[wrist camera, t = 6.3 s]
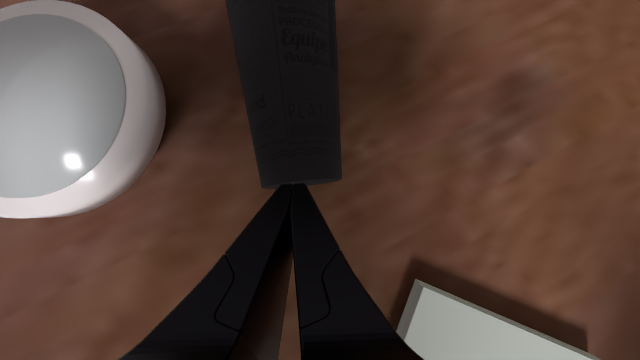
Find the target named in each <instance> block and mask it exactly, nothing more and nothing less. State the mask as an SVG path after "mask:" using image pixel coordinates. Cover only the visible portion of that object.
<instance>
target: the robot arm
mask: <svg viewBox="0 0 640 360" xmlns="http://www.w3.org/2000/svg"><path fill="white" fill-rule="evenodd" d="M293 258H294V271H295V283H296V296H297V308H298V321H299V330H300V332H299V333H300V347H301V360H424V359H423V358H422V357H421V356H419V355H418V354H417V353H416V352H415V351H413V350H412V349H411V348H410V347H409V346H408V345H407V344H406V343H405V341H404V340H403V339H402V338H401V337H400V336H399V335H398V333H397V332H396V331H395V329H394V328H393V327H392V326H391V324H390V323H389V321H388V320H387V319H386V317H385V316H384V315H383V313H382V312H381V310H380V309H379V308H378V306H377V305H376V304H375V302H374V301H373V299H372V298H371V297H370V295H369V294H368V293H367V291H366V290H365V289H364V287H363V286H362V284H361V283H360V281H359V280H358V278H357V277H356V275H355V274H354V272H353V270H352V269H351V267H350V265H349V264H348V262H347V260H346V258H345V257H344V255H343V253H342V251H341V250H340V248H339V246H338V244H337V242H336V240H335V238H334V236H333V235H332V233H331V231H330V229H329V227H328V225H327V223H326V221H325V220H324V218H323V216H322V214H321V212H320V210H319V208H318V207H317V205H316V203H315V201H314V199H313V197H312V195H311V194H310V192H309V190H308V188H307V186H306V184H305V183H295V184H281V185H280V186H279V187H278V188H277V190H276V191H275V192H274V193H273V195H272V196H271V197H270V198H269V199H268V201H267V202H266V203H265V204H264V206H263V207H262V208H261V209H260V211H259V212H258V213H257V214H256V215H255V217H254V218H253V219H252V220H251V222H250V223H249V224H248V225H247V226H246V228H245V229H244V230H243V231H242V233H241V234H240V235H239V236H238V237H237V239H236V240H235V241H234V242H233V244H232V245H231V246H230V247H229V248H228V250H227V251H226V252H225V255H223V256H222V257H221V258H220V259H219V261H218V262H217V263H216V264H215V265H214V266H213V268H212V269H211V270H210V271H209V272H208V273H207V275H206V276H205V277H204V278H203V279H202V280H201V281H200V282H199V283H198V284H197V286H196V287H195V288H194V289H193V290H192V291H191V292H190V293H189V294H188V295H187V296H186V297H185V298H184V299H183V300H182V301H181V302H180V303H179V304H178V305H177V306H176V307H175V308H174V309H173V310H172V311H171V312H170V313H169V314H168V315H167V316H166V317H165V318H164V319H163V320H162V321H161V322H160V323H159V324H158V325H157V326H156V327H155V328H154V329H153V330H152V331H151V332H150V333H149V334H148V335H147V336H146V337H145V338H144V339H143V340H142V341H141V342H140V343H139V344H138V345H136V346H135V347H134V348H133V349H132V350H130V351H129V352H128V353H126V354H125V355H124V356H122V357H121V358H119V359H118V360H278V354H279V347H280V341H281V334H282V327H283V320H284V314H285V307H286V300H287V294H288V287H289V280H290V273H291V267H292V260H293Z"/></svg>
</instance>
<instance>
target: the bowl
mask: <svg viewBox="0 0 640 360" xmlns="http://www.w3.org/2000/svg"><path fill="white" fill-rule="evenodd" d="M165 118H166V99H165V93H164V88H163V85H162V82H161V79H160V76H159V74H158V72H157V70H156V68H155V66H154V64H153V63H152V61H151V60H150V58H149V57H148V55H147V54H146V53H145V52H144V51H143V50H142V49H141V48H140V47H139V46H138V45H137V44H136V43H135V42H133V41H132V40H131V39H130V38H129V37H128V36H127V35H126V34H124V33H123V32H122V31H121V30H120V29H119V28H118V27H116V26H115V25H114V24H113V23H112V22H110V21H109V20H108V19H107V18H105V17H104V16H102V15H100V14H99V13H97V12H95V11H93V10H91V9H88V8H86V7H84V6H81V5H77V4H74V3H70V2H64V1H57V0H37V1H27V2H23V3H18V4H14V5H11V6H8V7H5V8H2V9H0V217H4V218H44V217H64V216H73V215H77V214H81V213H85V212H88V211H91V210H94V209H96V208H99V207H101V206H103V205H105V204H107V203H109V202H110V201H112V200H114V199H115V198H117V197H118V196H119V195H121V194H122V193H124V192H125V191H126V190H127V189H128V188H129V187H131V186H132V185H133V184H134V183H135V182H136V181H137V179H138V178H139V177H140V176H141V175H142V174H143V173H144V171H145V170H146V168H147V167H148V165H149V164H150V163H151V161H152V159H153V157H154V155H155V153H156V151H157V150H158V147H159V144H160V142H161V138H162V135H163V130H164V126H165Z"/></svg>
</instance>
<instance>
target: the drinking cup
mask: <svg viewBox="0 0 640 360" xmlns="http://www.w3.org/2000/svg"><path fill="white" fill-rule="evenodd" d="M226 6H227V11H228V16H229V21H230V26H231V31H232V36H233V42H234V47H235V52H236V57H237V62H238V67H239V73H240V78H241V83H242V88H243V93H244V98H245V103H246V109H247V114H248V119H249V124H250V129H251V134H252V139H253V145H254V150H255V155H256V160H257V165H258V170H259V175H260V181H261V186H262V188H265V189H277V188H278V187H279V186H280V185H281V184H295V183H305V184H306V186H309V185H316V184H323V183H328V182H333V181H337V180H340V179H341V178H342V171H341V145H340V120H339V94H338V69H337V43H336V18H335V0H226Z"/></svg>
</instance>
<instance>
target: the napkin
mask: <svg viewBox="0 0 640 360" xmlns="http://www.w3.org/2000/svg"><path fill="white" fill-rule="evenodd" d="M396 332H397V333H398V335H399V336H400V337H401V338H402V339H403V340H404V341H405V343H406V344H407V345H408V346H409V347H410V348H411V349H412V350H413V351H415V352H416V353H417V354H418V355H419V356H421V357H422V358H423V359H424V360H601V359H599V358H597V357H595V356H593V355H592V354H590V353H588V352H585V351H583V350H581V349H578V348H576V347H574V346H571V345H569V344H567V343H564V342H562V341H560V340H557V339H555V338H553V337H550V336H548V335H546V334H543V333H541V332H539V331H536V330H534V329H532V328H529V327H527V326H525V325H522V324H520V323H518V322H515V321H513V320H511V319H508V318H506V317H504V316H501V315H499V314H497V313H494V312H492V311H490V310H487V309H485V308H483V307H480V306H478V305H476V304H473V303H471V302H469V301H466V300H464V299H462V298H459V297H457V296H455V295H452V294H450V293H448V292H445V291H443V290H441V289H438V288H436V287H434V286H431V285H429V284H427V283H424V282H422V281H420V280H417V279H415V281H414V284H413V286H412V289H411V292H410V295H409V297H408V300H407V303H406V306H405V308H404V311H403V314H402V317H401V319H400V322H399V325H398V327H397V330H396Z"/></svg>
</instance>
